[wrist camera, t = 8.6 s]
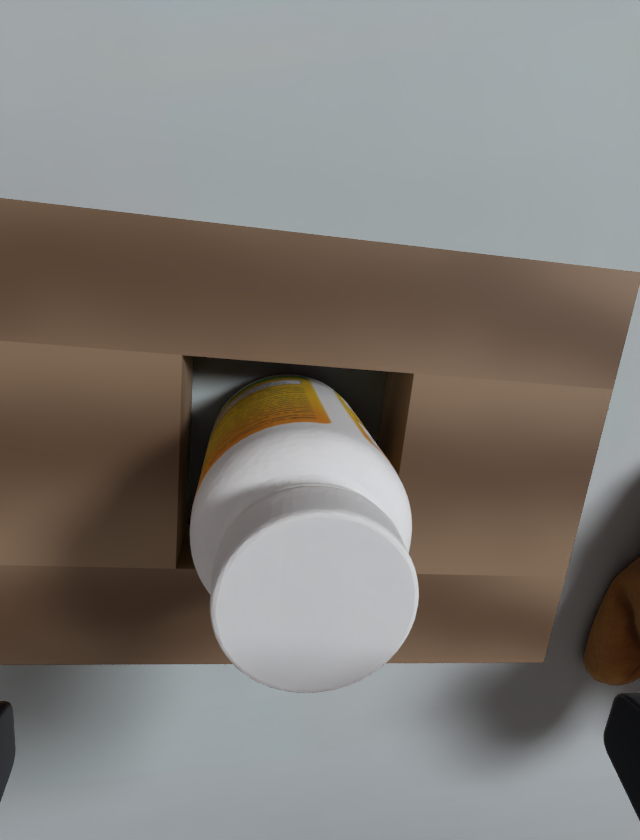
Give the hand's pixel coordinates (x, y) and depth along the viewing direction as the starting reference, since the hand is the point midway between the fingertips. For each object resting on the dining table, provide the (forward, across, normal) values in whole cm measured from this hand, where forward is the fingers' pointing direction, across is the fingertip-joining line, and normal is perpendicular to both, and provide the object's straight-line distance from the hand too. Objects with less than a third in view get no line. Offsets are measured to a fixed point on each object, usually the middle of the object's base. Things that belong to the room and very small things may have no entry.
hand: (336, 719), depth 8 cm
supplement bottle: (+12, 0, 0) cm, 12 cm away
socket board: (+12, 0, 0) cm, 12 cm away
